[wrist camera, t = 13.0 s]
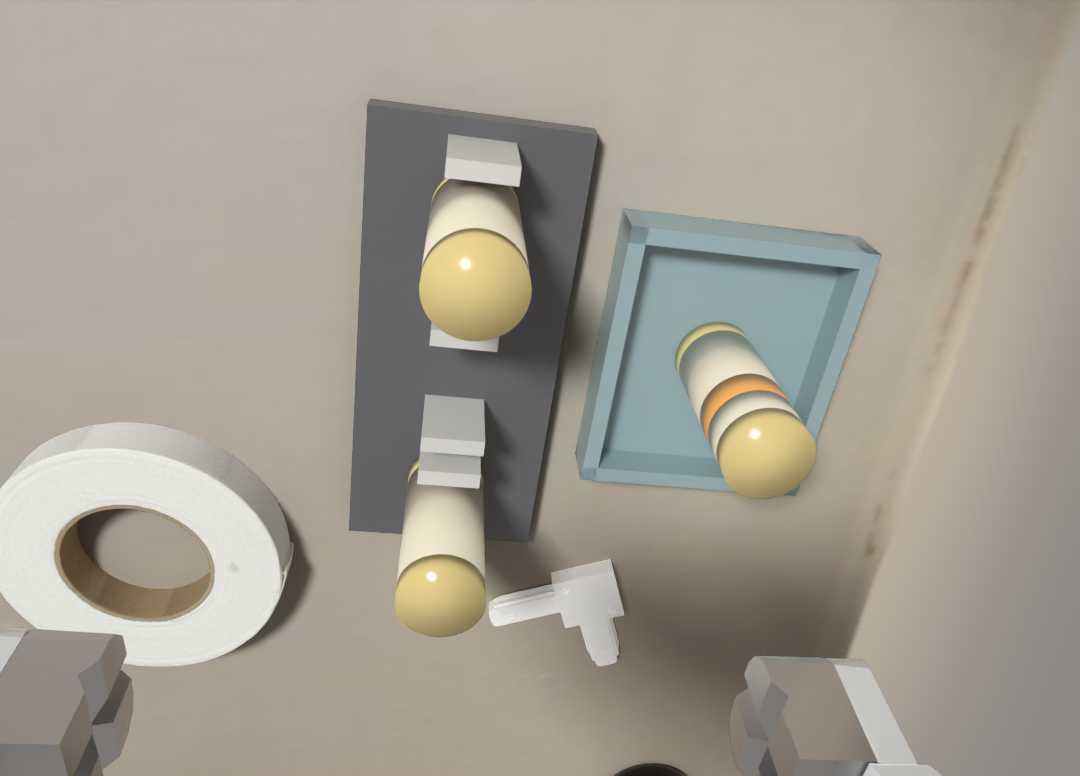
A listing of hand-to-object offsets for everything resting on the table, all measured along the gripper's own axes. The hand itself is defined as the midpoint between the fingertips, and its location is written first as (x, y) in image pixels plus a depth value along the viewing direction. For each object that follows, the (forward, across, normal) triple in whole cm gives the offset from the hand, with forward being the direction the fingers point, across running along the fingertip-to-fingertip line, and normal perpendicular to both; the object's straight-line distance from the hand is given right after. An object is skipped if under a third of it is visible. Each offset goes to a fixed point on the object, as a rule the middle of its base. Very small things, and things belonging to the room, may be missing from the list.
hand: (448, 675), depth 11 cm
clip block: (+30, -1, +12) cm, 33 cm away
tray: (+30, -14, +11) cm, 35 cm away
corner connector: (+31, -8, +30) cm, 44 cm away
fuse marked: (+30, -14, +11) cm, 35 cm away
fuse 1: (+30, -1, +4) cm, 30 cm away
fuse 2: (+29, 0, +19) cm, 35 cm away
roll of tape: (+31, +16, +25) cm, 43 cm away
